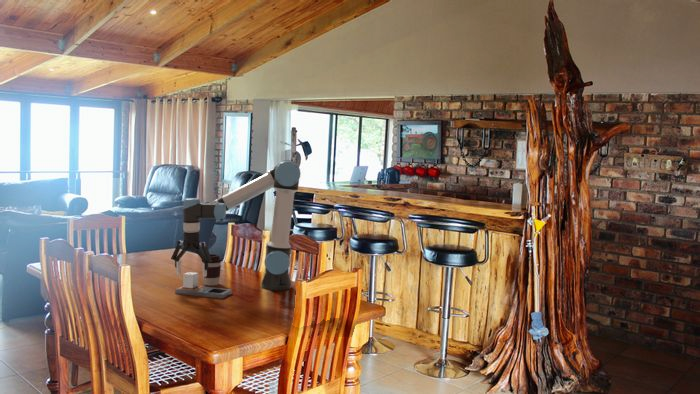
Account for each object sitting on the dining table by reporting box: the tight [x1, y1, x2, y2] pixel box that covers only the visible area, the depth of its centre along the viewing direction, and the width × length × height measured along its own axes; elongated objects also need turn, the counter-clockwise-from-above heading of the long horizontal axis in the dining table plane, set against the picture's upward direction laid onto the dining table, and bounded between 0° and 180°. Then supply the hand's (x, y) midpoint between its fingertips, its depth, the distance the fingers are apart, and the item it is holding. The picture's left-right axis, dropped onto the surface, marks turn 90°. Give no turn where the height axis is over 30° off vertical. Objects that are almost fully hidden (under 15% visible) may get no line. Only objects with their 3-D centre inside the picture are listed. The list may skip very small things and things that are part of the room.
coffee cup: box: [201, 253, 223, 286], centre depth 296 cm, size 10×10×15 cm
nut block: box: [182, 271, 199, 290], centre depth 278 cm, size 5×5×9 cm
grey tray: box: [174, 285, 233, 300], centre depth 277 cm, size 24×10×3 cm, turn 76°
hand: (191, 275), depth 278 cm, fingers open, 13 cm apart
